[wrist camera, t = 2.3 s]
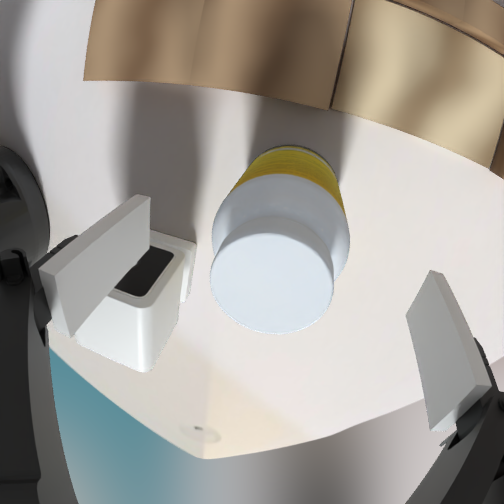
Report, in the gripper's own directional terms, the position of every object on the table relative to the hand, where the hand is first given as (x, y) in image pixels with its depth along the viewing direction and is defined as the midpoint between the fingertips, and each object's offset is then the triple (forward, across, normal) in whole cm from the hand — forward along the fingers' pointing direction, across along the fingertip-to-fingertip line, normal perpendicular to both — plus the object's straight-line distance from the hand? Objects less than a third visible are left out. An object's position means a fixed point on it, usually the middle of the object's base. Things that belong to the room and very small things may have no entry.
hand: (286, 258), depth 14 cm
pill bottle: (+9, -1, 0) cm, 9 cm away
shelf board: (+9, -1, +12) cm, 15 cm away
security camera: (+9, -10, -8) cm, 15 cm away
